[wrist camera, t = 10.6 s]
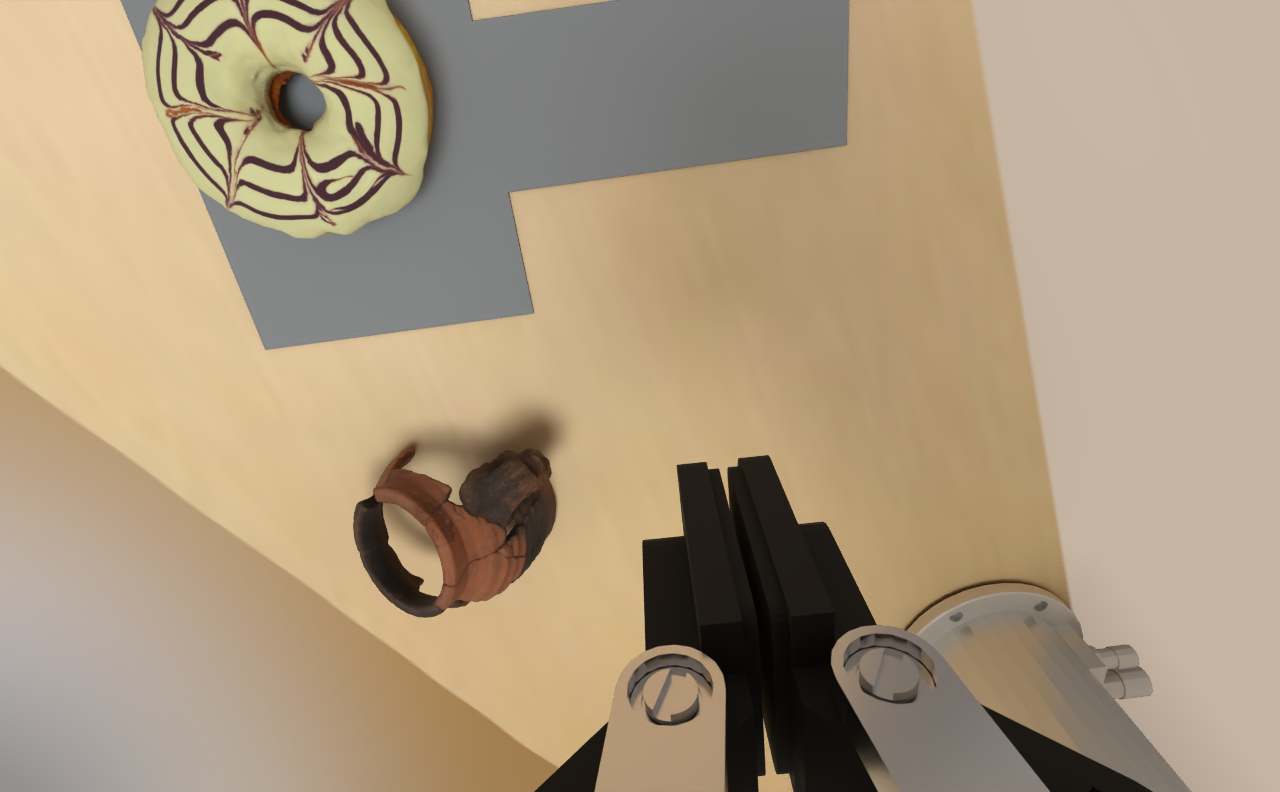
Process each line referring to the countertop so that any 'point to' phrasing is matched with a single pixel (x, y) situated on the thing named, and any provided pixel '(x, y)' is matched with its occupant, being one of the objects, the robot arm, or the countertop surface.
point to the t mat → (538, 145)
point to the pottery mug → (460, 529)
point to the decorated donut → (254, 127)
